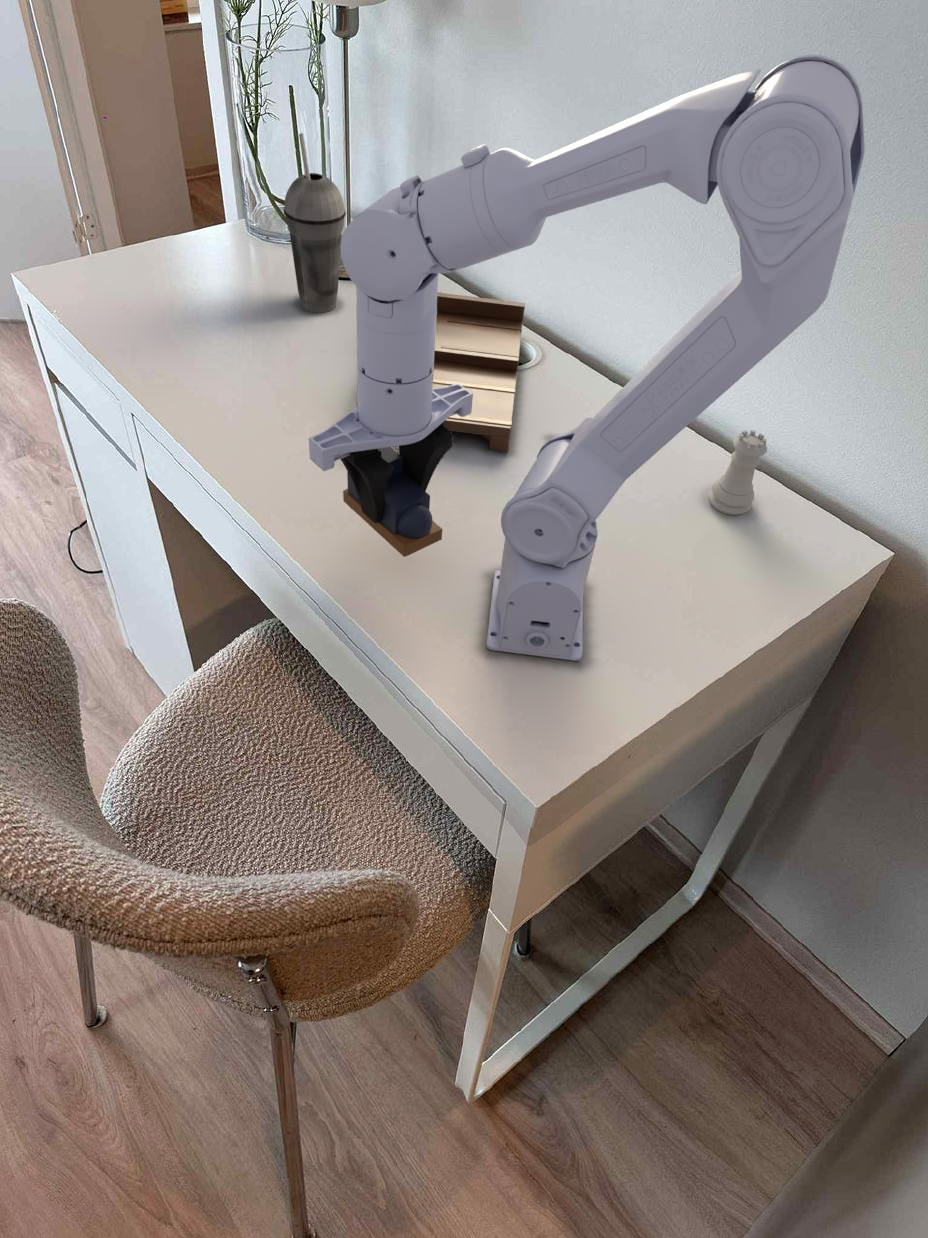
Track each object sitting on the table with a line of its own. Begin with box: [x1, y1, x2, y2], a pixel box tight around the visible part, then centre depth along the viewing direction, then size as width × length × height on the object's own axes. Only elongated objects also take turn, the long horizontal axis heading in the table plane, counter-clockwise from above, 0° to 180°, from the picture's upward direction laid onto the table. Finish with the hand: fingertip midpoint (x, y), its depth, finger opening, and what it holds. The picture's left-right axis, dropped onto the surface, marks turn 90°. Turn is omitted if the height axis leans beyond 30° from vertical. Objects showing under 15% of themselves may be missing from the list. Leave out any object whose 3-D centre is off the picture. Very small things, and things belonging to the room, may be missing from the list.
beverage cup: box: [283, 132, 347, 314], centre depth 105 cm, size 7×7×20 cm
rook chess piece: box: [708, 429, 768, 516], centre depth 88 cm, size 4×4×8 cm
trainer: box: [342, 447, 443, 558], centre depth 75 cm, size 9×4×5 cm, turn 39°
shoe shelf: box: [433, 291, 526, 453], centre depth 100 cm, size 24×16×5 cm, turn 174°
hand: (392, 507), depth 76 cm, fingers closed on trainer, 3 cm apart
